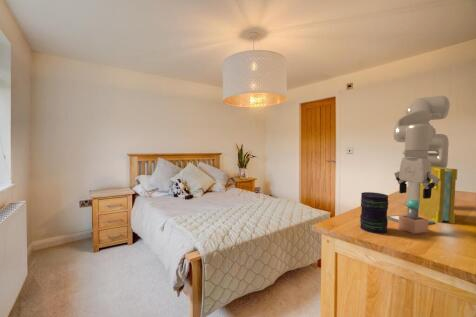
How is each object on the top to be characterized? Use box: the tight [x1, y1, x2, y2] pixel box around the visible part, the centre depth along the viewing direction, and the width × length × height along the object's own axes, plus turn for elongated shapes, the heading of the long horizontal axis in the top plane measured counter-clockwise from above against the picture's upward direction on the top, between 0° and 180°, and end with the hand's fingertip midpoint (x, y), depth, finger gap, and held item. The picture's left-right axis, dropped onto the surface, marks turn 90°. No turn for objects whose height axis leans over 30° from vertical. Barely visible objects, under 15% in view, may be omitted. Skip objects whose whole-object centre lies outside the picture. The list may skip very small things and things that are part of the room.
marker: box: [406, 199, 419, 220], centre depth 91 cm, size 4×4×12 cm
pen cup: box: [398, 214, 429, 235], centre depth 91 cm, size 7×7×6 cm
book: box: [418, 166, 459, 224], centre depth 108 cm, size 17×7×25 cm, turn 168°
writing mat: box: [387, 213, 436, 225], centre depth 104 cm, size 15×12×1 cm
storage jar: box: [359, 191, 389, 235], centre depth 92 cm, size 10×10×15 cm
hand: (414, 195), depth 91 cm, fingers open, 9 cm apart
